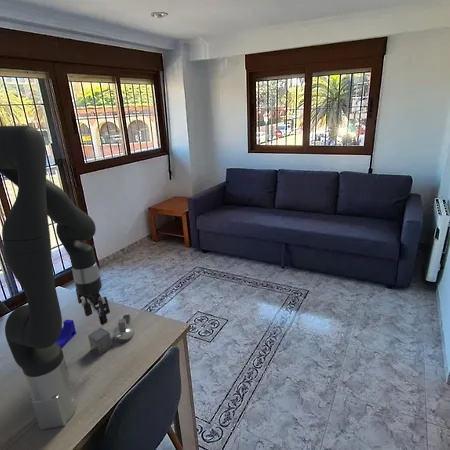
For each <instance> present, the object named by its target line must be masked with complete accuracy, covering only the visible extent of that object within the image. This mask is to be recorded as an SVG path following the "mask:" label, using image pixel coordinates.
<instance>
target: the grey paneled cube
mask: <svg viewBox="0 0 450 450" xmlns="http://www.w3.org/2000/svg"><path fill="white" fill-rule="evenodd" d="M87 337H88V342H89V346H90V349H91V350H90V351H92V352H94V353H96V354H97V355H99V356H101V355H103V354H104V353H106V352H107V351H108V350H110V349H111V348H112V347H113V344H112V343H113V342H112V337H111V333H110V331H107V330H106V329H104V328H103V327H99V328H97V329H96V330H95V331H93V332H91V333H89V334H88V335H87Z"/></svg>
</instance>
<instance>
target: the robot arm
mask: <svg viewBox="0 0 450 450" xmlns="http://www.w3.org/2000/svg"><path fill="white" fill-rule="evenodd" d="M0 174H1V175H2V176H3V177H5V178H6V179H8V180H9V181H10V182H12V183H13V184H14V185H15V186H16V187H17V195H16V198H15V201H14V203H13V205H12V207H11V208H10V210H9V212H8V214H7V215H6V218H5V221H4V223H3V225H2V229H1V235H2V236H1V237H2V247H3V252H4V253H3V254H4V257H5V261H6V264H7V266H8V267H9V269H10V271H11V272H12V274H13V275H14V277H15V279H16V281H17V282H18V283H19V285H20V287H21V288H22V290H23V292H24V294H25V298H26V301H27V304H25V305H20V306H18V307H16V308H15V309H13V310H12V311H11V313H10V314H9V315H8V317H7V318H6V321H5V326H4V334H5V335H4V336H5V338H6V341H7V345H8V346H9V350H10V352H11V355H12V358H13V359H14V361H15V363H16V364H17V365H18V366H19V367H20V369H21V370H22V373H23V375H24V376H23V377H24V378H25V381H26V384H27V389H28V390H29V394H30V397H31V400H32V402H31V405H32V409H33V411H34V414H35V416H36V417H35V418H36V421H37V424H38V426H39V429H40V430H41V431H42V430H46V429H53V428H59V427H64V426H66V424H67V422H68V421H69V420H70V419H71V418H72V417H73V416H74V414H75V413H76V410H77V401H76V397H75V394H74V393H75V392H74V390H73V389H74V388H73V386H72V382H71V379H70V374H69V371H68V366H67V363H66V359H65V356H64V352H63V348H61V346H60V345H59V344H57V343H56V341H57V339H58V338H59V335H60V333H61V329H62V327H63V316H62V311H61V307H60V302H59V298H58V293H57V288H56V283H55V275H54V269H53V268H54V266H53V258H52V257H53V256H52V244H51V233H50V232H51V231H50V226H49V225H50V224H49V219H51V221H53V223H55V224H56V229H55V231H56V234H57V237H58V239H59V241H60V243H61V244H62V246H63V248H64V249H65V251H66V253H67V254H68V257H69V260H70V265H71V269H72V277H73V281H74V285H75V293H76V297H77V301H78V304H81V306H82V308H83V310H84V315H85V316H86V317H90V316H91V315H92V314H93V311H96V313H97V314H98V321H99V323H100V325H101V326H104V325H106V324H107V323H108V317H107V315H108V314H110V313H111V310H110V305H109V302H108V298H107V296H103V297H102V296H101V294H100V291H101V290H102V287H103V283H102V280H101V275H100V269H99V266H98V263H97V260H96V255H95V250H94V248H93V246H92V245H91V244H87V243H83V242H81V241H88V240H91V239H93V237H94V236H95V234H96V232H97V231H96V230H97V229H96V224H95V221H94V220H93V218H92V217H91V216H90V215H88V213H86V212H84V211H83V210H82V209H81V208H79V207H78V206H76V205H75V203H73V201H72V199H71V198H70V196H69V195H68V194H67V193H66V192H65V191H64V190H63V189H62V187H59V186H58V185H57V184H56V183H54V182H53V181H51V180H50V179H48V178H47V149H46V144H45V141H44V137H43V135H42V134H41V132H40V131H39V129H36V128H35V127H33V126H30V125H0Z"/></svg>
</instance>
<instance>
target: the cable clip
mask: <svg viewBox="0 0 450 450" xmlns="http://www.w3.org/2000/svg"><path fill="white" fill-rule="evenodd" d="M62 324H63V325H62V329H61V333H60V335H59V338H58V339H57V341H56V343H57V344H59V345H60V346H61V348H62V349H63V348H64V347H65V346H66V345H67V344H68V343H69V342H70V340H72V338H74V337H75V335H76V334H77V331H76V326H75V323H74V320H73V319H65V320H64V321H62Z"/></svg>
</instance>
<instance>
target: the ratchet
mask: <svg viewBox="0 0 450 450" xmlns="http://www.w3.org/2000/svg"><path fill="white" fill-rule="evenodd" d="M131 320H132V319H131V314H124V315H123V317H122V319H121V318H120V319H118V322H117V325H118V326H116V327H115V328H114V329H113V332H112V333H113V338H114V341H115V342H117V343H126V342H128V341H130V340H131V339H133V338H134V336H135V330H134V326H133V324H131Z"/></svg>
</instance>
